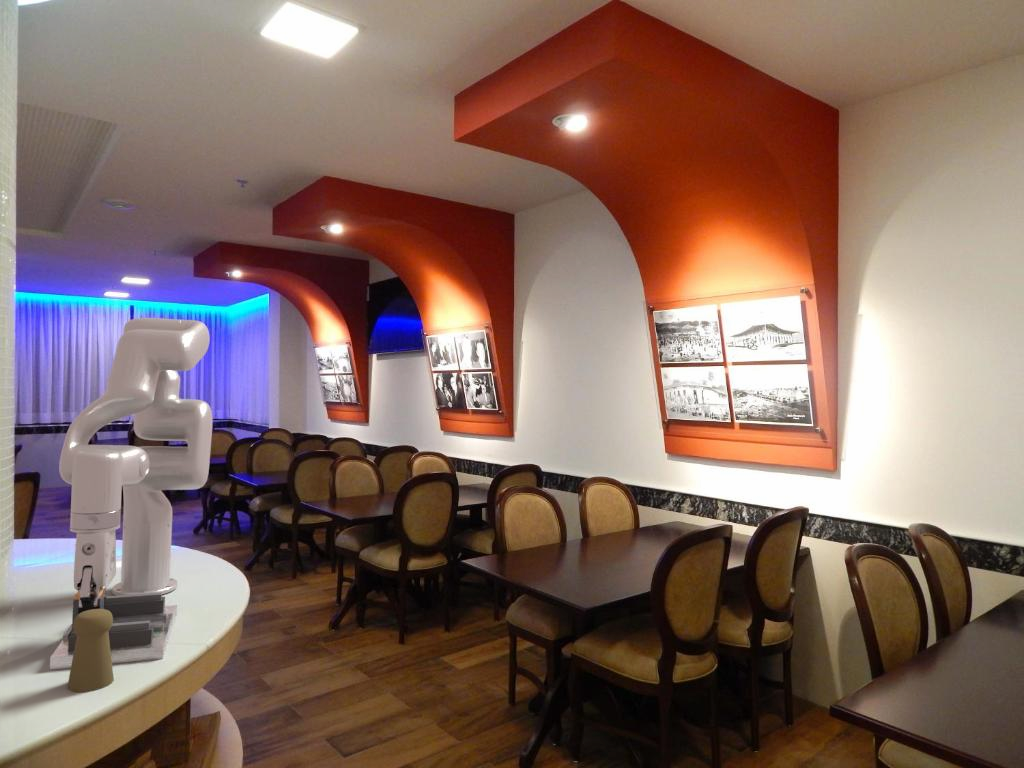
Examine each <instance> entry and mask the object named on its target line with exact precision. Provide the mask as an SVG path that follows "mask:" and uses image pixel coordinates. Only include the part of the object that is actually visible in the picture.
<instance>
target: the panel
mask: <svg viewBox="0 0 1024 768" xmlns="http://www.w3.org/2000/svg"><path fill="white" fill-rule="evenodd" d="M177 610H178V605H177V604H174V605H165V609H164V612H163V613H156V614H144V615H131V616H118V617H113V623H125V622H137V621H149V620H150V625H154V630H153V640H152V643H151V644H145V645H134V646H123V647H113V648H110V651H111V660H112V665H113V664H120V663H121V664H125V663H131V662H141V661H142V662H143V661H152V660H161V659H163V658H164V657H165V656H164V655H165V652H166V649H167V646H168V644H169V640H170V636H171V633H172V632H173V631H172V630H173V628H174V625H175V621H176V618H177V616H178V613H177V612H178V611H177ZM71 633H72V623H71V624H70V625H69V627H68V628H67V630H65V632H64V634H63V636H62V637H63V638H62V640H61V642H60V643H59V645H58V646H57V647H56V648H55V650H54V652H53V653H52V655H51V656H50V657H49V671H53V670H63V669H71V665H72V660H73V654H74V651H70V652H68V638H69V636H70V634H71Z"/></svg>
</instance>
